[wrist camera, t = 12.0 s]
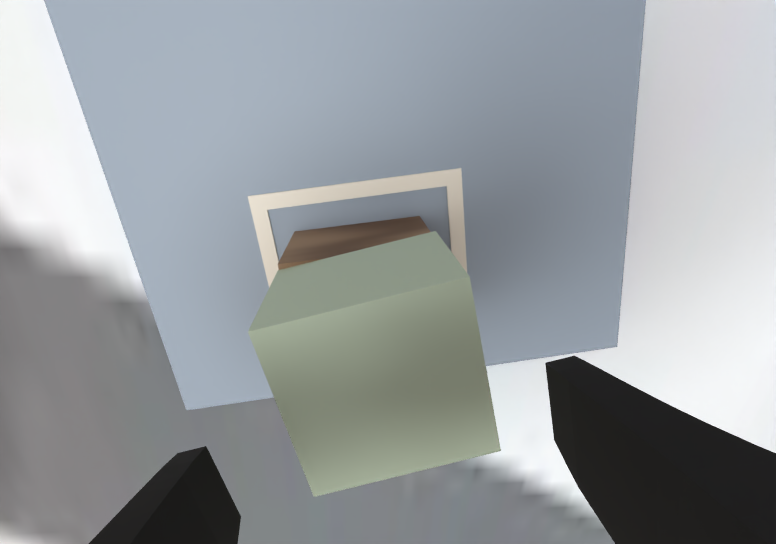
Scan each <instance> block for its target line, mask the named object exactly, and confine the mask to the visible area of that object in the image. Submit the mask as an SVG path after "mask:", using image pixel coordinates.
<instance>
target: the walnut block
mask: <svg viewBox="0 0 776 544" xmlns="http://www.w3.org/2000/svg"><path fill="white" fill-rule="evenodd" d="M429 232H430V230H429V229H428V227H427V226H426V224H425V223H424V221H423V220H422V219H421V217H420V216H415V217H407V218H399V219H391V220H383V221H375V222H367V223H358V224H350V225H342V226H334V227H326V228H318V229H310V230H302V231H294V233H293V235H292V237H291V239H290V241H289V243H288V245H287V247H286V249H285V251H284V253H283V255H282V257H281V259H280V261H279V263H278V268H279V270H281V269H285V268H289V267H293V266H297V265H301V264H305V263H309V262H313V261H317V260H321V259H325V258H329V257H333V256H337V255H341V254H345V253H349V252H353V251H357V250H361V249H365V248H369V247H373V246H377V245H381V244H385V243H389V242H393V241H397V240H401V239H405V238H409V237H413V236H417V235H421V234H425V233H429Z"/></svg>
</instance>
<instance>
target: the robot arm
mask: <svg viewBox="0 0 776 544" xmlns="http://www.w3.org/2000/svg"><path fill="white" fill-rule="evenodd" d="M545 364H546V372H547V381H548V390H549V398H550V407H551V415H552V424H553V433H554V440H555V442H556V444H557V446H558V448H559V450H560V452H561V454H562V456H563V458H564V460H565V462H566V464H567V466H568V468H569V470H570V472H571V474H572V476H573V478H574V480H575V482H576V483H577V485H578V487H579V489H580V490H581V492H582V493H583V495H584V497H585V498H586V500H587V501H588V503H589V504H590V506H591V507H592V509H593V510H594V512H595V513H596V515H597V516H598V518H599V520H600V521H601V523H602V524H603V526H604V527H605V529H606V530H607V532H608V533H609V535H610V536H611V538H612V539H613V541H614V542H615V544H776V453H773V452H771V451H769V450H766V449H764V448H761V447H759V446H757V445H754V444H752V443H750V442H748V441H746V440H743V439H741V438H739V437H737V436H734V435H732V434H730V433H728V432H725V431H723V430H721V429H719V428H716V427H714V426H712V425H710V424H708V423H706V422H703V421H701V420H699V419H697V418H695V417H693V416H691V415H689V414H687V413H685V412H683V411H680V410H678V409H676V408H674V407H672V406H670V405H668V404H666V403H664V402H662V401H660V400H658V399H656V398H654V397H652V396H651V395H649V394H647V393H645V392H643V391H641V390H639V389H637V388H635V387H633V386H631V385H629V384H627V383H626V382H624V381H622V380H620V379H618V378H616V377H614V376H612V375H610V374H609V373H607V372H605V371H603V370H601V369H599V368H597V367H595V366H593V365H592V364H590V363H588V362H586V361H584V360H582V359H580V358H578V357H576V356H572V357H568V358H564V359H559V360H555V361H551V362H547V363H545ZM240 519H241V516H240V514H239V512H238V510H237V508H236V506H235V504H234V502H233V500H232V498H231V496H230V494H229V492H228V490H227V488H226V486H225V484H224V481H223V479H222V477H221V475H220V473H219V471H218V469H217V467H216V465H215V463H214V461H213V459H212V457H211V455H210V453H209V451H208V449H207V447H206V446H205V447H201V448H197V449H193V450H189V451H185V452H181V453H177V454H176V455H175V456H174V457H173V458H172V459H171V460H170V461H169V462H168V463H167V464H166V465H165V466H164V467H162V468H161V469H160V470H159V471H158V472H157V473H156V474H155V475H154V477H153V478H152V479H151V480H150V481H149V482H148V483H147V484H146V485H145V486H144V487H143V488H142V489H141V490H140V491H139V492H138V493H137V494H136V495H135V496H134V497H133V498H132V499H131V500H130V501H129V502H128V503H127V505H126V506H125V507H124V508H123V509H122V510H121V511H120V512H119V513H118V514H117V515H116V516H115V517H114V518H113V519H112V520H111V521H110V522H109V523H108V524H107V525H106V526H105V527H104V528H103V529H102V530H101V532H100V533H99V534H98V535H97V536H96V537H95V538H94V539H93V540H92V541H91V542H90V543H89V544H237V543H238V535H239V527H240Z"/></svg>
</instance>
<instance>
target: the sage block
mask: <svg viewBox="0 0 776 544" xmlns="http://www.w3.org/2000/svg"><path fill="white" fill-rule="evenodd" d="M248 334H249V336H250V339H251V341H252V344H253V346H254V349H255V351H256V354H257V356H258V359H259V361H260V364H261V366H262V369H263V371H264V374H265V376H266V379H267V381H268V384H269V386H270V389H271V391H272V394H273V396H274V399H275V401H276V404H277V406H278V408H279V411H280V413H281V416H282V418H283V421H284V423H285V426H286V428H287V431H288V433H289V436H290V438H291V441H292V443H293V446H294V448H295V451H296V453H297V456H298V458H299V461H300V463H301V466H302V468H303V471H304V473H305V476H306V478H307V481H308V483H309V486H310V488H311V491H312V493H313V496H314V497H316V496H320V495H324V494H328V493H332V492H336V491H340V490H344V489H348V488H352V487H356V486H360V485H364V484H368V483H372V482H376V481H381V480H385V479H389V478H393V477H397V476H401V475H405V474H409V473H413V472H417V471H421V470H425V469H429V468H433V467H437V466H441V465H445V464H450V463H454V462H458V461H462V460H466V459H470V458H474V457H478V456H482V455H486V454H490V453H494V452H498V451H501V449H500V444H499V438H498V433H497V427H496V421H495V416H494V410H493V405H492V399H491V393H490V388H489V382H488V377H487V371H486V365H485V360H484V354H483V349H482V343H481V337H480V332H479V326H478V321H477V315H476V309H475V304H474V298H473V293H472V287H471V281H470V276H469V275H468V274H467V272H466V271H465V270H464V268H463V267H462V266H461V264H460V263H459V262H458V260H457V259H456V257H455V256H454V255H453V253H452V252H451V251H450V249H449V248H448V247H447V245H446V244H445V243H444V241H443V240H442V239H441V237H440V236H439V235H438V233H437V232H436V231H433V232H429V233H425V234H421V235H417V236H413V237H409V238H405V239H401V240H397V241H393V242H389V243H385V244H381V245H377V246H373V247H369V248H365V249H361V250H357V251H353V252H349V253H345V254H341V255H337V256H333V257H329V258H325V259H321V260H317V261H313V262H309V263H305V264H301V265H297V266H293V267H289V268H285V269H281V270H278V271H277V273H276V275H275V277H274V279H273V281H272V283H271V285H270V287H269V289H268V292H267V294H266V296H265V298H264V300H263V302H262V304H261V306H260V308H259V310H258V312H257V314H256V316H255V318H254V320H253V322H252V324H251V326H250V328H249V330H248Z"/></svg>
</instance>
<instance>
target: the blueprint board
mask: <svg viewBox="0 0 776 544" xmlns="http://www.w3.org/2000/svg"><path fill="white" fill-rule="evenodd" d="M44 1H45V4H46V7H47V10H48V13H49V16H50V19H51V22H52V25H53V27H54V30H55V33H56V36H57V39H58V42H59V45H60V48H61V50H62V53H63V56H64V59H65V62H66V65H67V68H68V71H69V73H70V76H71V79H72V82H73V85H74V88H75V91H76V94H77V96H78V99H79V102H80V105H81V108H82V111H83V114H84V117H85V119H86V122H87V125H88V128H89V131H90V134H91V137H92V140H93V142H94V145H95V148H96V151H97V154H98V157H99V160H100V163H101V165H102V168H103V171H104V174H105V177H106V180H107V183H108V186H109V189H110V191H111V194H112V197H113V200H114V203H115V206H116V209H117V212H118V214H119V217H120V220H121V223H122V226H123V229H124V232H125V235H126V237H127V240H128V243H129V246H130V249H131V252H132V255H133V258H134V260H135V263H136V266H137V269H138V272H139V275H140V278H141V281H142V283H143V286H144V289H145V292H146V295H147V298H148V301H149V304H150V306H151V309H152V312H153V315H154V318H155V321H156V324H157V327H158V330H159V332H160V335H161V338H162V341H163V344H164V347H165V350H166V353H167V355H168V358H169V361H170V364H171V367H172V370H173V373H174V376H175V378H176V381H177V384H178V387H179V390H180V393H181V396H182V399H183V401H184V404H185V407H186V410H192V409H198V408H205V407H212V406H219V405H226V404H232V403H239V402H246V401H253V400H259V399H266V398H273V397H274V396H273V394H272V391H271V389H270V386H269V384H268V381H267V379H266V376H265V374H264V371H263V369H262V366H261V364H260V361H259V359H258V356H257V354H256V351H255V349H254V346H253V344H252V341H251V339H250V336H249V334H248V330H249V328H250V326H251V324H252V322H253V320H254V318H255V316H256V314H257V312H258V310H259V308H260V306H261V304H262V302H263V300H264V298H265V296H266V294H267V292H268V289H269V287H270V285H271V283H272V281H273V279H274V277H275V275H276V273H277V271H278V270H279V268H278V263H279V261H280V259H281V257H282V255H283V253H284V251H285V249H286V247H287V245H288V243H289V241H290V239H291V237H292V235H293V233H294V231H302V230H310V229H318V228H326V227H334V226H342V225H350V224H358V223H367V222H375V221H383V220H391V219H399V218H407V217H415V216H420V217H421V219H422V220H423V221H424V223H425V224H426V226H427V227H428V229H429V230H430V232H433V231H436V232H437V233H438V235H439V236H440V237H441V239H442V240H443V241H444V243H445V244H446V245H447V247H448V248H449V249H450V251H451V252H452V253H453V255H454V256H455V257H456V259H457V260H458V262H459V263H460V264H461V266H462V267H463V268H464V270H465V271H466V272H467V274H468V275H469V276H470V281H471V287H472V293H473V298H474V304H475V309H476V315H477V321H478V326H479V332H480V337H481V343H482V349H483V354H484V360H485V365H486V366H490V365H497V364H503V363H510V362H517V361H524V360H530V359H537V358H544V357H551V356H558V355H564V354H571V353H578V352H585V351H591V350H598V349H605V348H612V347H617V343H618V330H619V318H620V306H621V294H622V282H623V270H624V258H625V245H626V233H627V221H628V209H629V197H630V185H631V173H632V161H633V148H634V136H635V124H636V112H637V100H638V88H639V76H640V63H641V51H642V39H643V27H644V15H645V3H646V0H44Z"/></svg>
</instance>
